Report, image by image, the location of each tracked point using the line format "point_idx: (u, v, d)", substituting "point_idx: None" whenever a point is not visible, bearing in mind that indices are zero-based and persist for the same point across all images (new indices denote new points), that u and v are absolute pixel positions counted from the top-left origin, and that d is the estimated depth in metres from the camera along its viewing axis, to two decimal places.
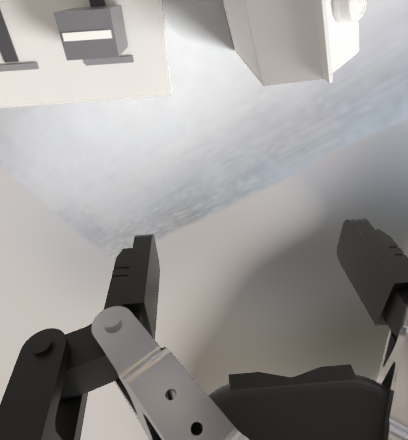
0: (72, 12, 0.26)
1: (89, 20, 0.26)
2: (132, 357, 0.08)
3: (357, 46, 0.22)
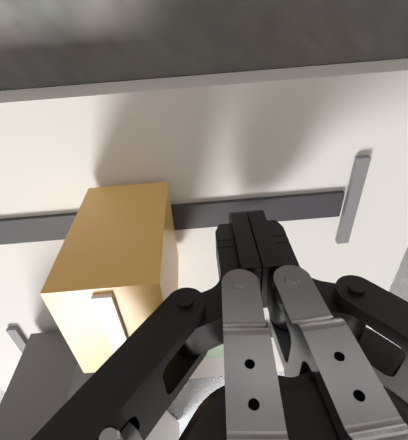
0: None
1: None
2: (239, 317, 0.09)
3: None
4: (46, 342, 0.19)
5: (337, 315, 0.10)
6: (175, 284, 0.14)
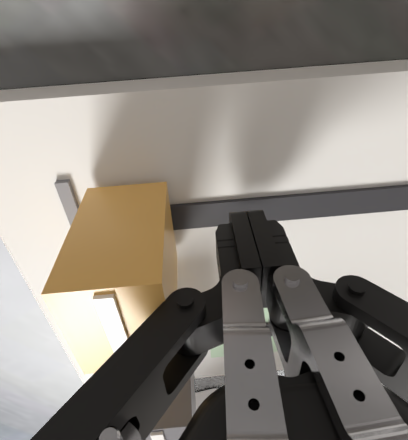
0: None
1: None
2: (239, 317, 0.09)
3: None
4: None
5: (337, 315, 0.10)
6: (175, 284, 0.14)
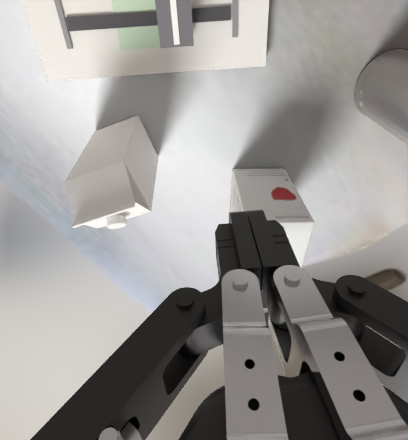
0: (190, 11, 0.32)
1: (185, 26, 0.32)
2: (239, 317, 0.09)
3: (99, 227, 0.39)
4: None
5: (337, 315, 0.10)
6: None
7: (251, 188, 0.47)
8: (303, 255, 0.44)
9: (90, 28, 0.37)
